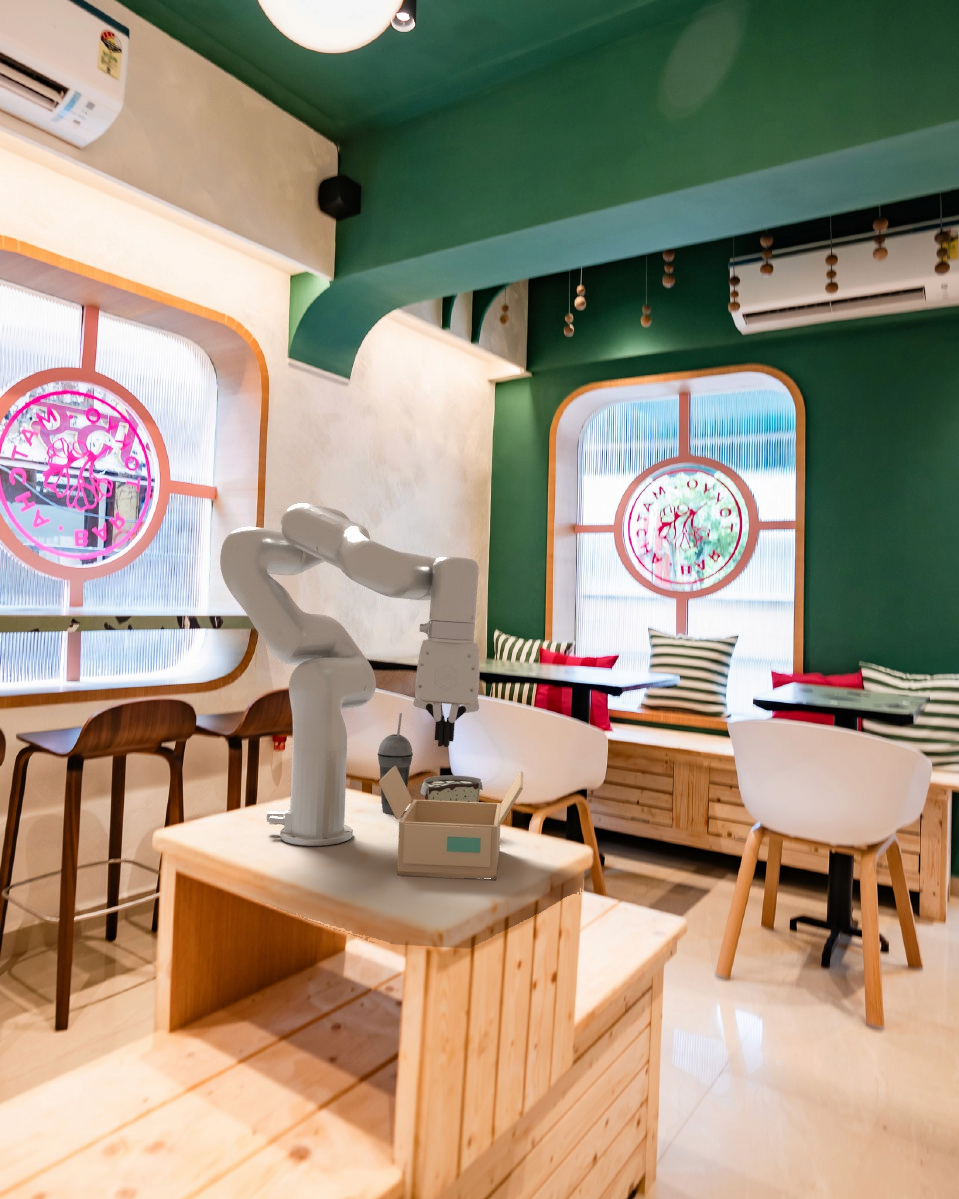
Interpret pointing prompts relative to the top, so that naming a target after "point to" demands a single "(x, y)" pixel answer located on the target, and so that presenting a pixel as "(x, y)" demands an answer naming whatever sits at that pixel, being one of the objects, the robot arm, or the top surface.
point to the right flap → (511, 797)
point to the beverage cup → (394, 759)
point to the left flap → (395, 792)
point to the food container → (452, 788)
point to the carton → (449, 839)
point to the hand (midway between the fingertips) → (443, 745)
